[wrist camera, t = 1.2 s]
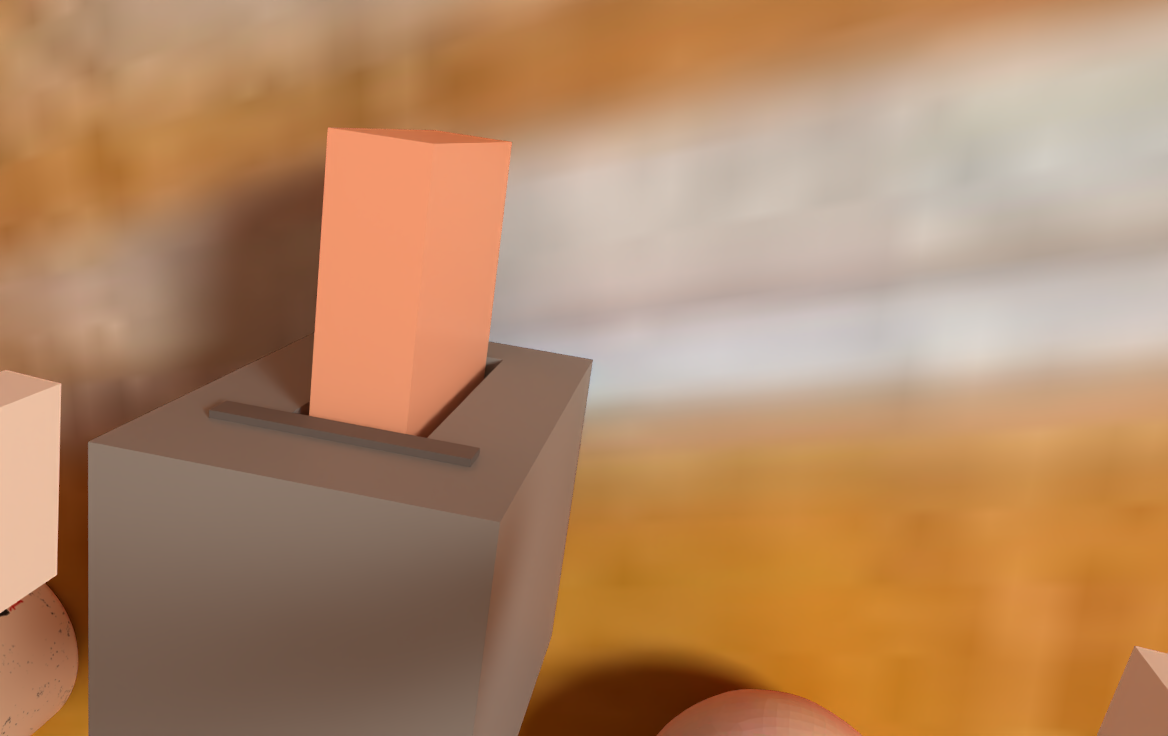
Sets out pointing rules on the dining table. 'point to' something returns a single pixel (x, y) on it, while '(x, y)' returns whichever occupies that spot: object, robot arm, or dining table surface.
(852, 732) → the decorative fruit
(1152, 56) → the dining table surface
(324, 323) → the orange rectangular block
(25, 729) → the teacup with lid
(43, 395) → the robot arm
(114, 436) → the gray rectangular block
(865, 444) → the dining table surface
